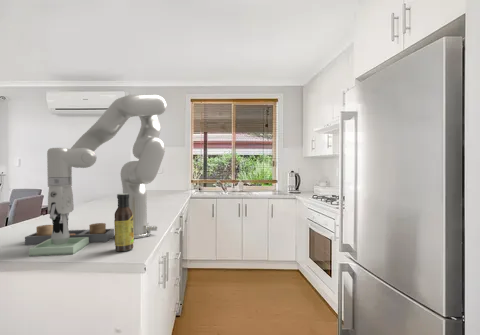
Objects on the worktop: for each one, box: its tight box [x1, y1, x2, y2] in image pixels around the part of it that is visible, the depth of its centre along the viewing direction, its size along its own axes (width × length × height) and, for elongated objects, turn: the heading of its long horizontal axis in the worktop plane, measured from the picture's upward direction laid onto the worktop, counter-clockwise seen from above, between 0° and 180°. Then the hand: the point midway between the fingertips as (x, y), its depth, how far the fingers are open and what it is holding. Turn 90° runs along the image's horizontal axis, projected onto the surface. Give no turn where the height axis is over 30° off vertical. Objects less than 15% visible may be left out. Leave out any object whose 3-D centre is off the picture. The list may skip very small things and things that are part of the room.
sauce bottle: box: [113, 193, 135, 253], centre depth 109 cm, size 6×6×20 cm
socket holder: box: [24, 228, 115, 246], centre depth 124 cm, size 30×10×3 cm, turn 96°
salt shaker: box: [51, 213, 70, 245], centre depth 110 cm, size 6×6×13 cm
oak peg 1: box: [35, 224, 53, 236], centre depth 123 cm, size 6×6×6 cm
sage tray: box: [28, 237, 90, 257], centre depth 111 cm, size 14×14×2 cm
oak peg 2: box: [89, 222, 107, 234], centre depth 125 cm, size 6×6×6 cm
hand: (60, 232), depth 110 cm, fingers closed on salt shaker, 3 cm apart
